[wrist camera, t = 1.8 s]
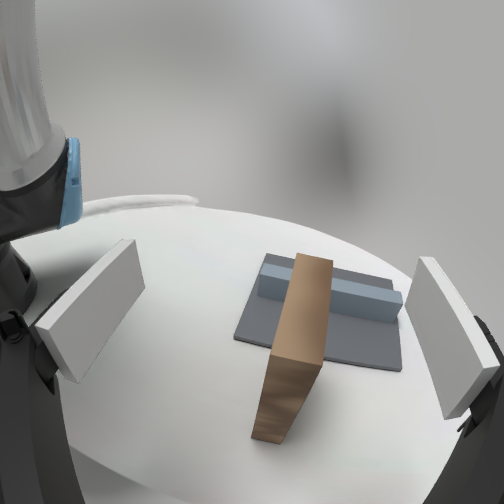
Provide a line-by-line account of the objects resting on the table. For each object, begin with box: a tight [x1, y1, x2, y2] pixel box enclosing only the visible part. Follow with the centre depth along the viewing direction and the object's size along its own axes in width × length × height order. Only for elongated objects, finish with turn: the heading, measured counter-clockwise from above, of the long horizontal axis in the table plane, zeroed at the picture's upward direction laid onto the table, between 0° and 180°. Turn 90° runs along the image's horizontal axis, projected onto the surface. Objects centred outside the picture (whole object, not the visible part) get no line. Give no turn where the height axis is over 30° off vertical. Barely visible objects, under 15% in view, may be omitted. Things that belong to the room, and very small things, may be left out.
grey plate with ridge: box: [234, 253, 403, 371], centre depth 39 cm, size 22×18×5 cm
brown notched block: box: [251, 253, 333, 444], centre depth 24 cm, size 3×10×16 cm, turn 165°
